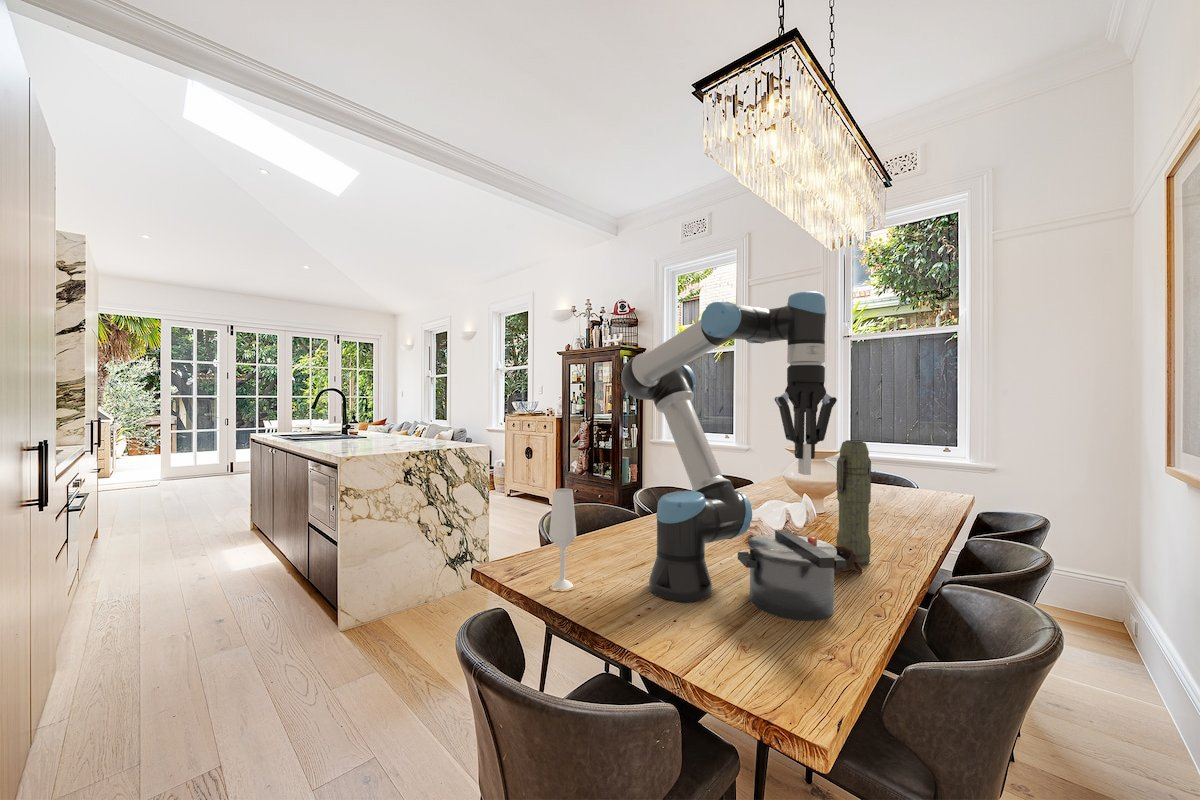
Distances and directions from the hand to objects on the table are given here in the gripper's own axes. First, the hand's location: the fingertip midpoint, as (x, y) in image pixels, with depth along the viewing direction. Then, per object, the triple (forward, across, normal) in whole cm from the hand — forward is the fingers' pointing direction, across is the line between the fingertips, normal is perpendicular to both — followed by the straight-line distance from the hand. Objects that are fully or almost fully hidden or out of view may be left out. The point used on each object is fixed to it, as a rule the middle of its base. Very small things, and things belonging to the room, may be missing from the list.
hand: (804, 473), depth 104 cm
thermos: (+31, +32, +37) cm, 58 cm away
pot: (+31, 0, +8) cm, 32 cm away
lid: (+19, 0, +3) cm, 19 cm away
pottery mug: (+31, +23, +27) cm, 47 cm away
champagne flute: (+31, -53, +17) cm, 64 cm away
